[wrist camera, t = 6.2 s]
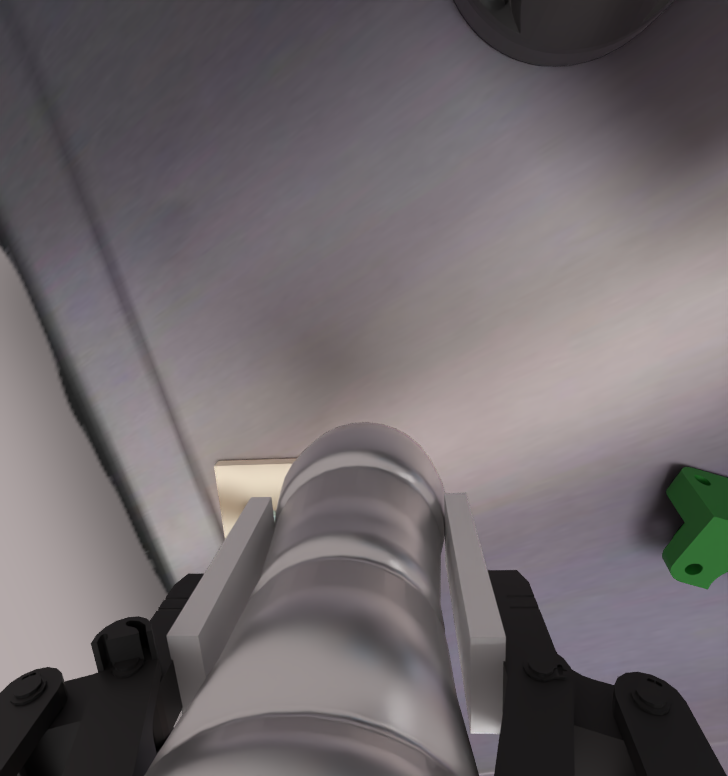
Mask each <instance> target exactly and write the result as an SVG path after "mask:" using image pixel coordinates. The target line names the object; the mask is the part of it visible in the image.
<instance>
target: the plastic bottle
mask: <svg viewBox="0 0 728 776" xmlns="http://www.w3.org/2000/svg"><path fill="white" fill-rule="evenodd" d="M444 493H445V491H444V487H443V483H442V481H441V478H440V476H439V474H438V472H437V470H436V468H435V466H434V465H433V463H432V461H431V460H430V458H429V456H428V455H427V454H426V452H425V451H424V450H423V449H422V447H421V446H420V445H419V444H418V443H417V442H416V441H414V440H413V439H412V438H411V437H410V436H408V435H407V434H405V433H403V432H401V431H399V430H398V429H396V428H393V427H389V426H386V425H383V424H378V423H370V422H362V423H351V424H347V425H343V426H339V427H337V428H335V429H332V430H330V431H328V432H326V433H324V434H323V435H322V436H320V437H319V438H318V439H316V440H315V441H314V442H313V443H312V444H311V445H309V446H308V447H307V448H306V449H305V450H304V451H303V452H302V453H301V454H300V456H299V457H298V458H297V459H296V460H295V461H294V463H293V464H292V465H291V467H290V469H289V471H288V473H287V474H286V476H285V478H284V482H283V485H282V488H281V491H280V495H279V499H278V504H277V508H276V515H275V526H274V534H273V537H272V540H271V543H270V547H269V550H268V553H267V557H266V560H265V563H264V566H263V570H262V573H261V576H260V579H259V581H258V583H257V585H256V587H255V589H254V591H253V592H252V594H251V596H250V598H249V600H248V603H247V606H246V607H245V609H244V611H243V613H242V614H241V616H240V618H239V620H238V622H237V624H236V626H235V628H234V630H233V632H232V634H231V636H230V637H229V639H228V641H227V643H226V645H225V647H224V649H223V651H222V653H221V655H220V657H219V659H218V660H217V662H216V663H215V665H214V667H213V668H212V670H211V671H210V673H209V674H208V676H207V677H206V679H205V681H204V682H203V684H202V685H201V687H200V688H199V690H198V691H197V693H196V695H195V696H194V698H193V699H192V701H191V702H190V704H189V706H188V707H187V709H186V710H185V712H184V713H183V715H182V717H181V718H180V720H179V721H178V723H177V724H176V726H175V727H174V729H173V730H172V732H171V734H170V735H169V737H168V738H167V740H166V741H165V743H164V745H163V746H162V748H161V749H160V751H159V752H158V754H157V755H156V757H155V759H154V760H153V762H152V764H151V765H150V767H149V769H148V771H147V772H146V774H145V775H144V776H479V774H478V770H477V766H476V763H475V759H474V756H473V752H472V749H471V745H470V742H469V738H468V734H467V731H466V727H465V724H464V720H463V717H462V713H461V710H460V706H459V702H458V699H457V695H456V689H455V684H454V678H453V672H452V667H451V661H450V655H449V649H448V644H447V641H446V637H445V627H444V622H443V616H442V611H441V605H440V597H441V552H442V547H443V542H444V537H445V513H444Z"/></svg>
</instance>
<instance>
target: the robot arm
mask: <svg viewBox="0 0 728 776" xmlns="http://www.w3.org/2000/svg"><path fill="white" fill-rule="evenodd" d="M454 1H455V3H456V5H457V7H458V9H459V10H460V12H461V14H462V15H463V17H464V18H465V19H466V21H467V22H468V23H469V25H470V26H471V27H472V28H473V30H474V31H475V32H476V33H477V34H478V35H479V36H480V37H481V38H483V39H484V40H485V41H486V42H487V43H488V44H490V45H491V46H492V47H494V48H495V49H497V50H499V51H500V52H502V53H504V54H506V55H508V56H510V57H512V58H514V59H517V60H520V61H523V62H526V63H530V64H535V65H543V66H566V65H574V64H579V63H583V62H587V61H590V60H593V59H596V58H598V57H601V56H603V55H606V54H608V53H610V52H612V51H614V50H615V49H617V48H619V47H621V46H622V45H624V44H625V43H627V42H628V41H630V40H631V39H633V38H634V37H635V36H637V35H638V34H639V33H640V32H641V31H643V30H644V29H645V28H646V27H647V26H648V25H649V24H650V23H651V22H652V21H654V20H655V19H656V18H657V17H658V16H659V15H660V14H661V13H662V12H663V11H664V10H665V9H666V8H667V7H668V6H669V5H670V4H671V3H672V2H673V1H674V0H454ZM444 513H445V562H446V568H447V575H448V582H449V589H450V595H451V602H452V609H453V616H454V623H455V629H456V636H457V643H458V650H459V657H460V663H461V670H462V677H463V684H464V691H465V697H466V704H467V711H468V718H469V725H470V731H471V733H473V734H500V737H499V744H498V752H497V759H496V766H495V774H494V776H727V775H726V773H725V772H724V770H723V768H722V766H721V764H720V763H719V761H718V759H717V757H716V755H715V754H714V752H713V750H712V748H711V746H710V744H709V743H708V741H707V739H706V737H705V735H704V734H703V732H702V730H701V728H700V726H699V725H698V723H697V721H696V719H695V717H694V715H693V714H692V712H691V710H690V708H689V706H688V705H687V703H686V701H685V700H684V699H683V697H682V696H681V695H680V693H679V692H678V691H677V690H676V689H675V688H673V687H672V686H671V685H669V684H668V683H667V682H665V681H664V680H662V679H659V678H657V677H655V676H653V675H650V674H646V673H641V672H630V673H625V674H623V675H622V676H620V677H618V678H617V680H616V683H615V685H611V684H608V683H604V682H600V681H597V680H593V679H590V678H587V677H585V676H582V675H580V674H579V673H577V672H575V671H573V670H572V669H571V667H570V666H569V665H568V663H567V662H566V661H565V660H564V658H562V657H561V656H560V655H558V654H557V652H556V650H555V648H554V645H553V643H552V640H551V638H550V635H549V632H548V630H547V627H546V625H545V622H544V620H543V617H542V615H541V612H540V609H539V608H538V604H537V602H536V599H535V598H534V594H533V592H532V589H531V587H530V584H529V582H528V581H527V580H526V579H525V578H524V577H523V576H522V575H521V574H520V573H519V572H518V571H517V570H487V567H486V563H485V560H484V556H483V552H482V549H481V545H480V542H479V538H478V534H477V531H476V527H475V523H474V520H473V516H472V513H471V509H470V505H469V502H468V498H467V494H466V493H444ZM274 526H275V522H274V514H273V506H272V498H271V497H251V498H250V500H249V501H248V503H247V505H246V506H245V508H244V510H243V511H242V513H241V514H240V516H239V518H238V519H237V521H236V523H235V524H234V526H233V528H232V529H231V531H230V532H229V534H228V536H227V537H226V539H225V541H224V542H223V544H222V546H221V547H220V549H219V550H218V552H217V554H216V555H215V557H214V559H213V560H212V562H211V564H210V565H209V567H208V568H207V570H206V572H205V573H204V574H188V575H186V576H185V577H184V578H182V579H181V580H180V581H179V582H177V583H176V584H175V585H174V586H173V588H172V589H171V591H170V592H169V594H168V595H167V597H166V600H164V601H163V602H162V604H161V605H160V607H159V610H158V611H156V613H155V614H154V616H153V617H152V619H151V620H150V621H149V620H148V619H146V618H142V617H128V618H125V619H121V620H118V621H116V622H114V623H112V624H110V625H109V626H107V627H105V628H104V629H103V630H102V631H101V632H99V634H97V635H96V636H95V638H94V640H93V641H92V643H91V646H92V650H93V653H94V657H95V661H96V665H97V669H98V673H95V674H93V675H89V676H85V677H81V678H77V679H73V680H69V681H65V682H64V679H63V676H62V673H61V672H60V671H59V670H58V669H57V668H50V667H46V668H41V669H36V670H33V671H31V672H29V673H26V674H24V675H22V676H21V677H19V678H17V679H16V680H14V681H13V682H11V683H10V684H9V685H8V686H7V687H6V688H5V689H4V690H3V691H2V692H1V693H0V776H144V775H145V774H146V772H147V771H148V769H149V767H150V765H151V764H152V762H153V760H154V759H155V757H156V755H157V754H158V752H159V751H160V749H161V748H162V746H163V745H164V743H165V741H166V740H167V738H168V737H169V735H170V734H171V732H172V730H173V729H174V727H173V726H174V724H175V722H176V720H177V718H178V716H179V714H180V712H181V710H182V714H183V713H184V712H185V710H186V709H187V707H188V706H189V704H190V702H191V701H192V699H193V698H194V696H195V695H196V693H197V691H198V690H199V688H200V687H201V685H202V684H203V682H204V681H205V679H206V677H207V676H208V674H209V673H210V671H211V670H212V668H213V667H214V665H215V663H216V662H217V660H218V659H219V657H220V655H221V653H222V651H223V649H224V647H225V645H226V643H227V641H228V639H229V637H230V636H231V634H232V632H233V630H234V628H235V626H236V624H237V622H238V620H239V618H240V616H241V614H242V613H243V611H244V609H245V607H246V606H247V603H248V600H249V598H250V596H251V594H252V592H253V591H254V589H255V587H256V585H257V583H258V581H259V579H260V576H261V573H262V570H263V566H264V563H265V560H266V557H267V553H268V550H269V547H270V543H271V540H272V537H273V534H274Z"/></svg>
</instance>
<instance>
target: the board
mask: <svg viewBox="0 0 728 776" xmlns="http://www.w3.org/2000/svg"><path fill="white" fill-rule="evenodd" d="M296 459H297V458H290V459H260V460H229V461H218V462H217V463H216V464H215V466H214V469H215V475H216V482H217V489H218V495H219V502H220V508H221V515H222V522H223V528H224V535H225V539H226V537H227V536H228V534H229V532H230V531H231V529H232V528H233V526H234V524H235V523H236V521H237V519H238V518H239V516H240V514H241V513H242V511H243V510H244V508H245V506H246V505H247V503H248V501H249V500H250V498H251V497H271V498H272V506H273V510H274V511H276V508H277V504H278V499H279V495H280V491H281V488H282V485H283V482H284V478H285V476H286V474H287V473H288V471H289V469H290V467H291V465H292V464H293V463H294V461H295V460H296Z"/></svg>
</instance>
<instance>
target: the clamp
mask: <svg viewBox="0 0 728 776" xmlns="http://www.w3.org/2000/svg"><path fill="white" fill-rule="evenodd" d="M666 494H667V496H668V497H669V499H670V500H671V502H672V503H673V505H674V507H675V508H676V510H677V511H678V513H679V514H680V516H681V518H682V519H683V521H684V522H685V523H684V524H683V525H682V526H681V527H680V529H679V530H678V531H677V532H676V533H675V535H674V537H673V539H672V540H671V541H670V543H669V544H668V545H667V546H666V548H665V549H664V550H663V553H662V558H663V560H664V562H665V564H666V566H667V567H668V569H669V571H670V573H671V575H672V577H673V578H674V579H676V580H678V581H680V582H683V583H687V584H690V585H694V586H698V587H701V588H705V589H708V588H709V586H710V585H711V583H712V582H713V581H714V580H715V579H716V578H718V577H719V576H721V575H722V574H724V573H726V572H728V478H727V477H723V476H720V475H716V474H712V473H709V472H705V471H702V470H698V469H695V468H691V467H684V468H683V469H682V470H681V471H680V473H679V474H678V475H677V477H676V478H675V479H674V481H673V482H672V483H671V484H670V486H669V487H668V488H667V490H666Z"/></svg>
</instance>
